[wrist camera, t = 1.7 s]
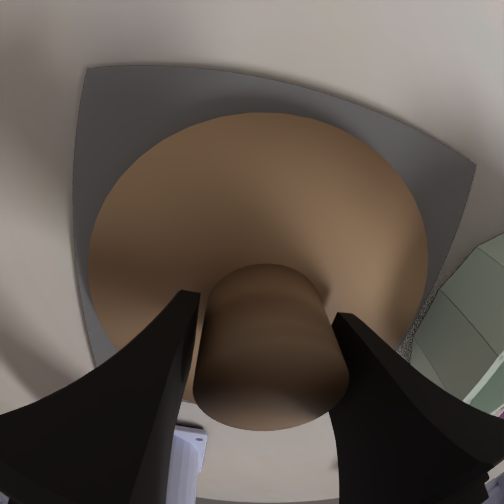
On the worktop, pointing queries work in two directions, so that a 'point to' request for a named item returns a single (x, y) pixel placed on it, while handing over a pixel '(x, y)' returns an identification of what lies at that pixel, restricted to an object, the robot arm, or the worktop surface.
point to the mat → (232, 103)
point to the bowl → (467, 331)
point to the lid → (261, 259)
